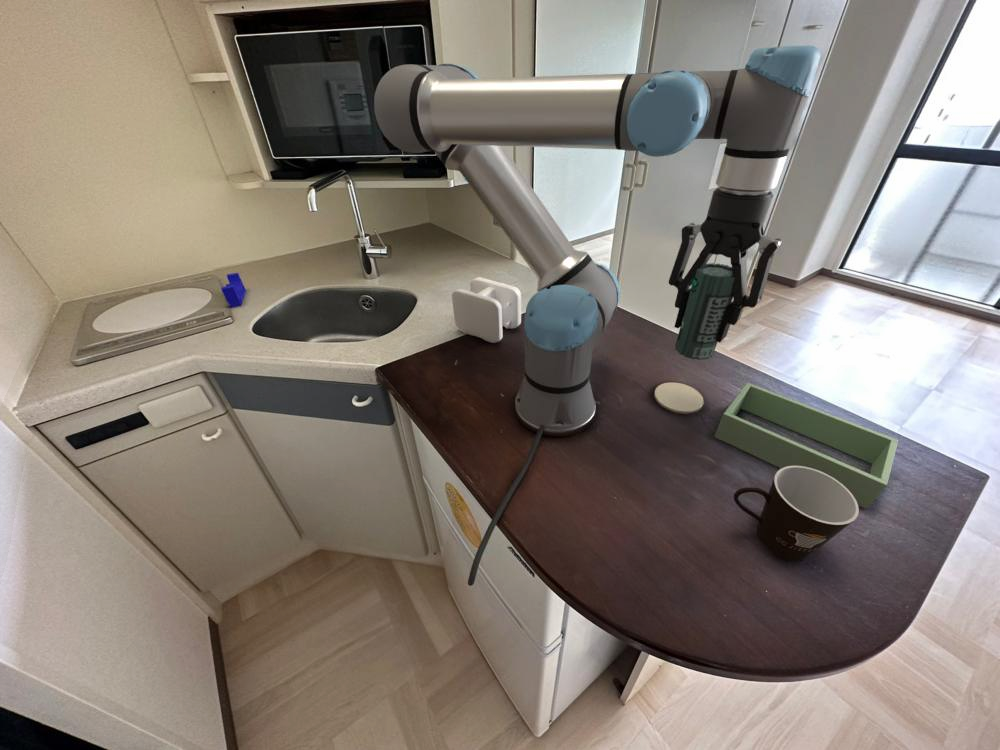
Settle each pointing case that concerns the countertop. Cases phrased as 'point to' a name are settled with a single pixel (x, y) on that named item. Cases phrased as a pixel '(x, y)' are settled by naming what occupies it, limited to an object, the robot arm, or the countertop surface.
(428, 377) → the countertop surface
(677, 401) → the coaster
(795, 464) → the box
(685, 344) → the can
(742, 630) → the countertop surface
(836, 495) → the coffee mug
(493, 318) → the cable organizer
